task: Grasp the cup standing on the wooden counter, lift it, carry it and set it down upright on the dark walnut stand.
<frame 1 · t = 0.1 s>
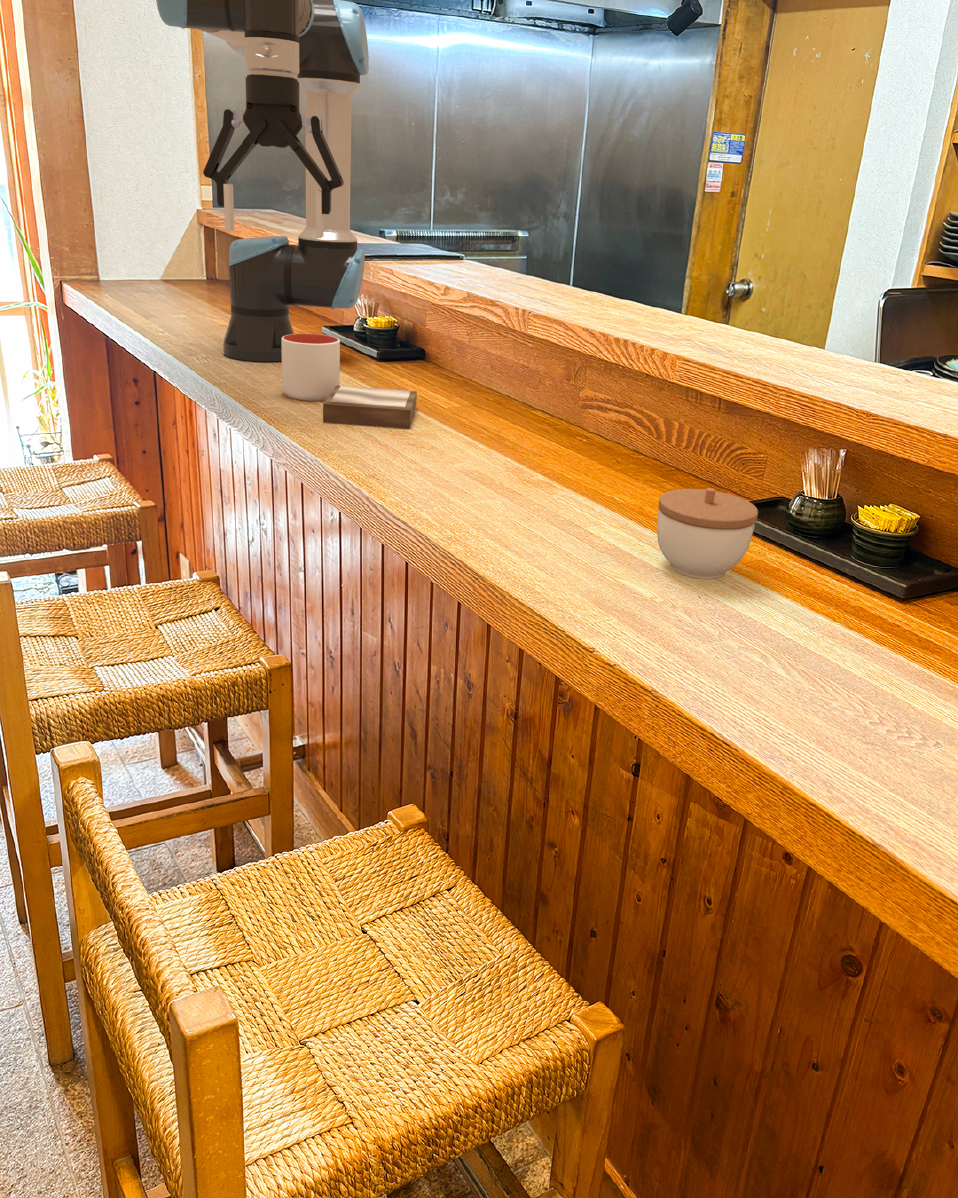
hand: (274, 234, 147), 28 cm above the countertop, fingers open, 13 cm apart
stand: (371, 415, 164), on the countertop
cup: (310, 397, 174), on the countertop
lidded jar: (697, 570, 110), on the countertop
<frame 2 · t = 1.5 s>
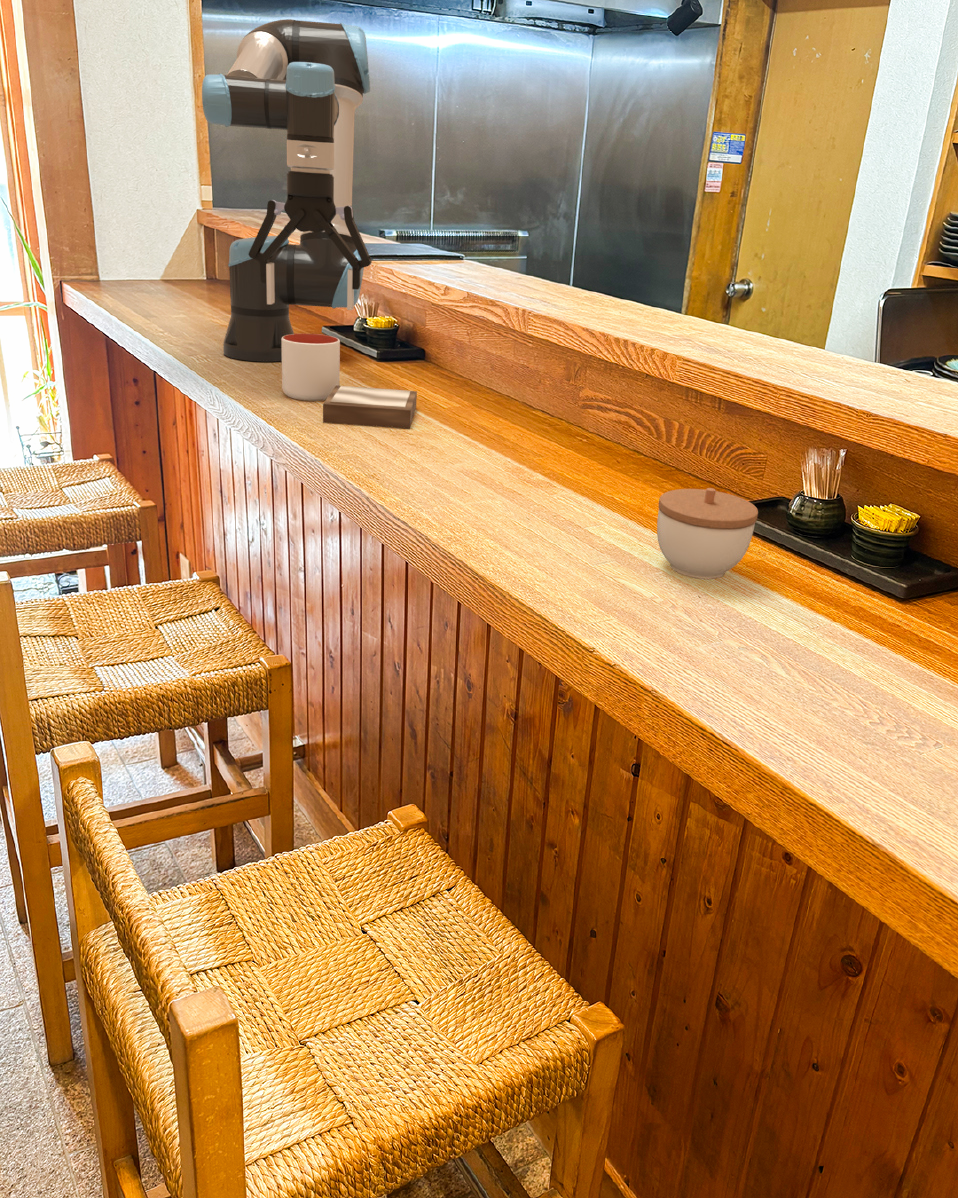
hand: (310, 306, 167), 15 cm above the countertop, fingers open, 13 cm apart
nothing on the countertop moved.
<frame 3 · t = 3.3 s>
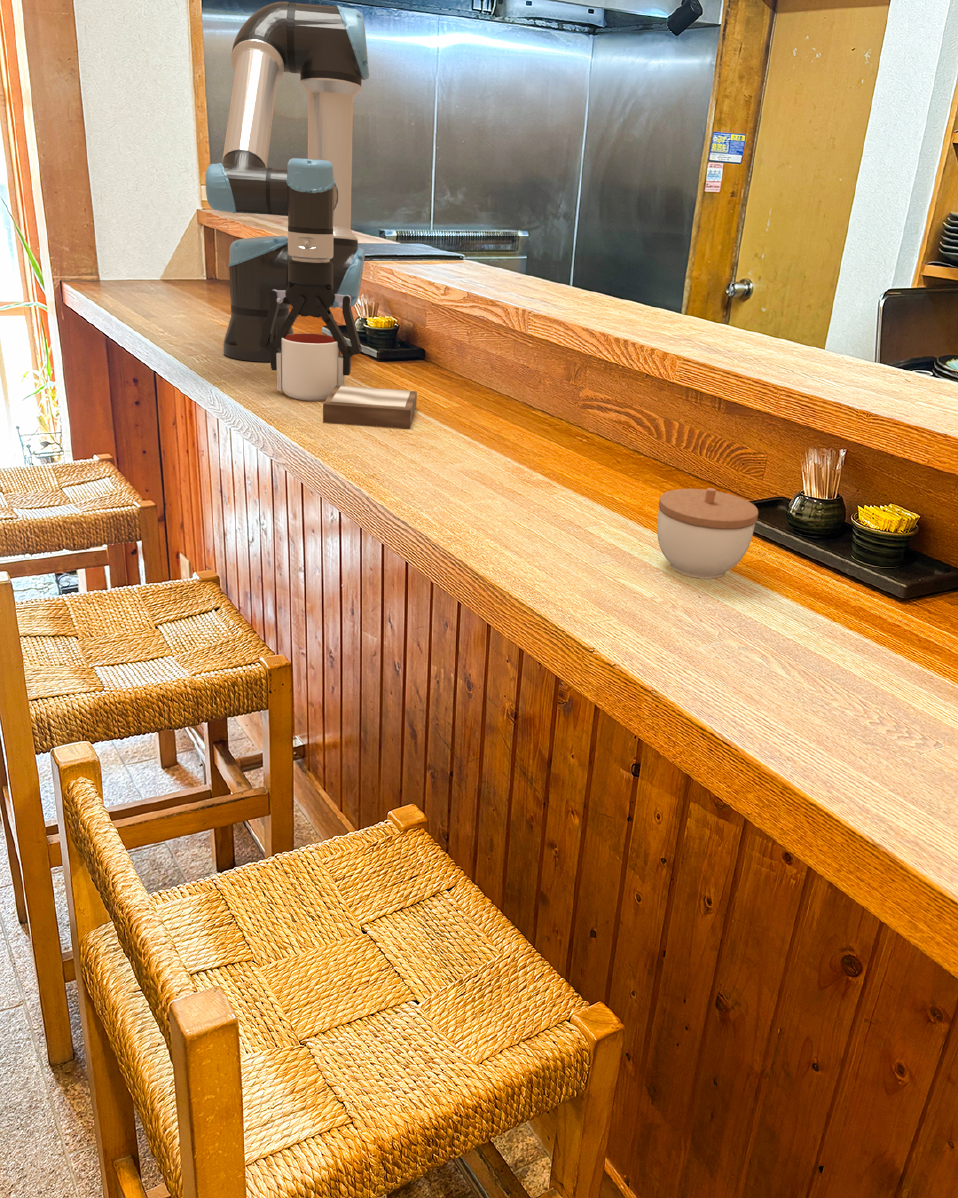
hand: (310, 391, 173), 1 cm above the countertop, fingers closed on cup, 10 cm apart
cup: (310, 396, 174), on the countertop, touching gripper
everything else where it was.
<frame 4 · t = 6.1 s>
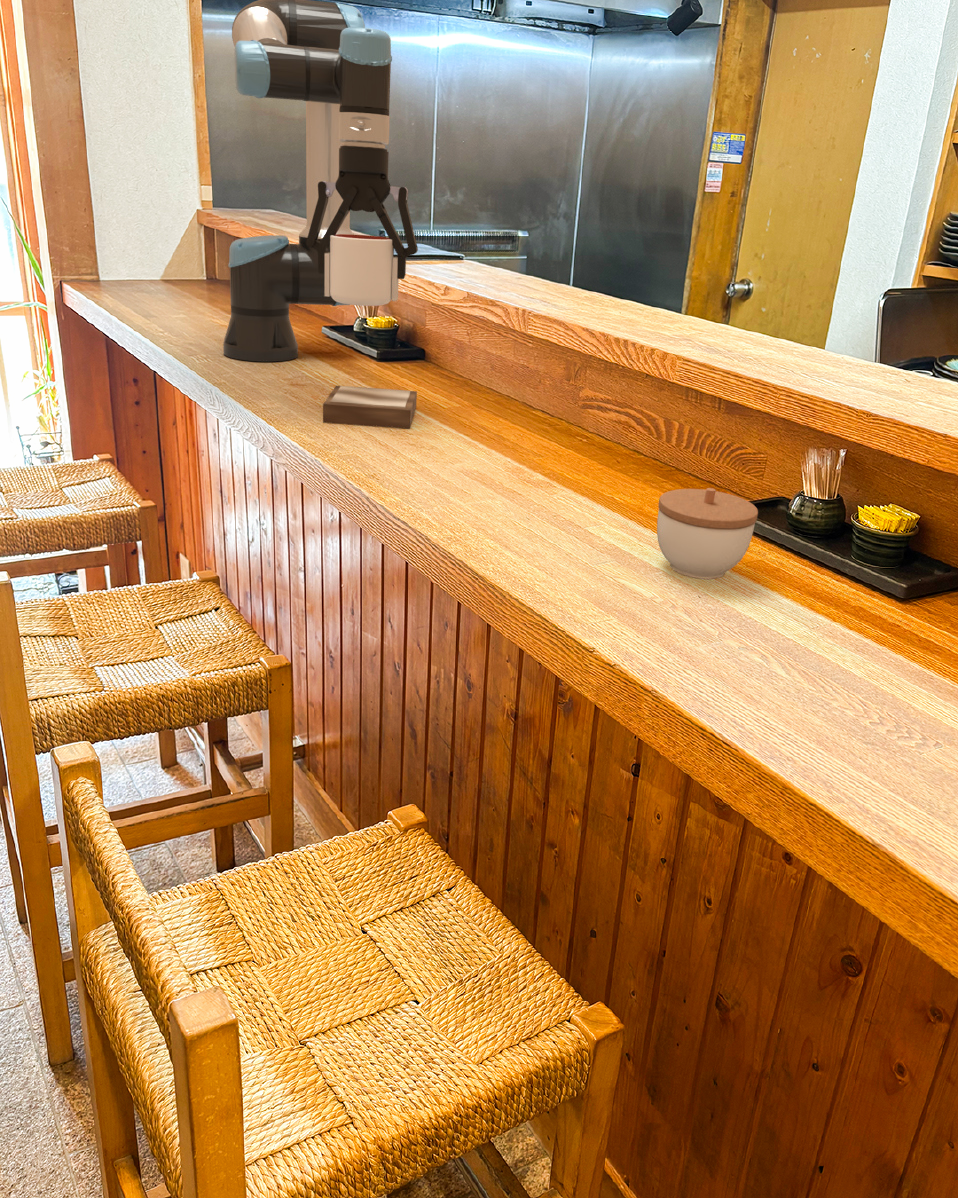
hand: (361, 297, 157), 19 cm above the countertop, fingers closed on cup, 10 cm apart
cup: (361, 303, 158), point 18 cm above the countertop, touching gripper
everything else where it was.
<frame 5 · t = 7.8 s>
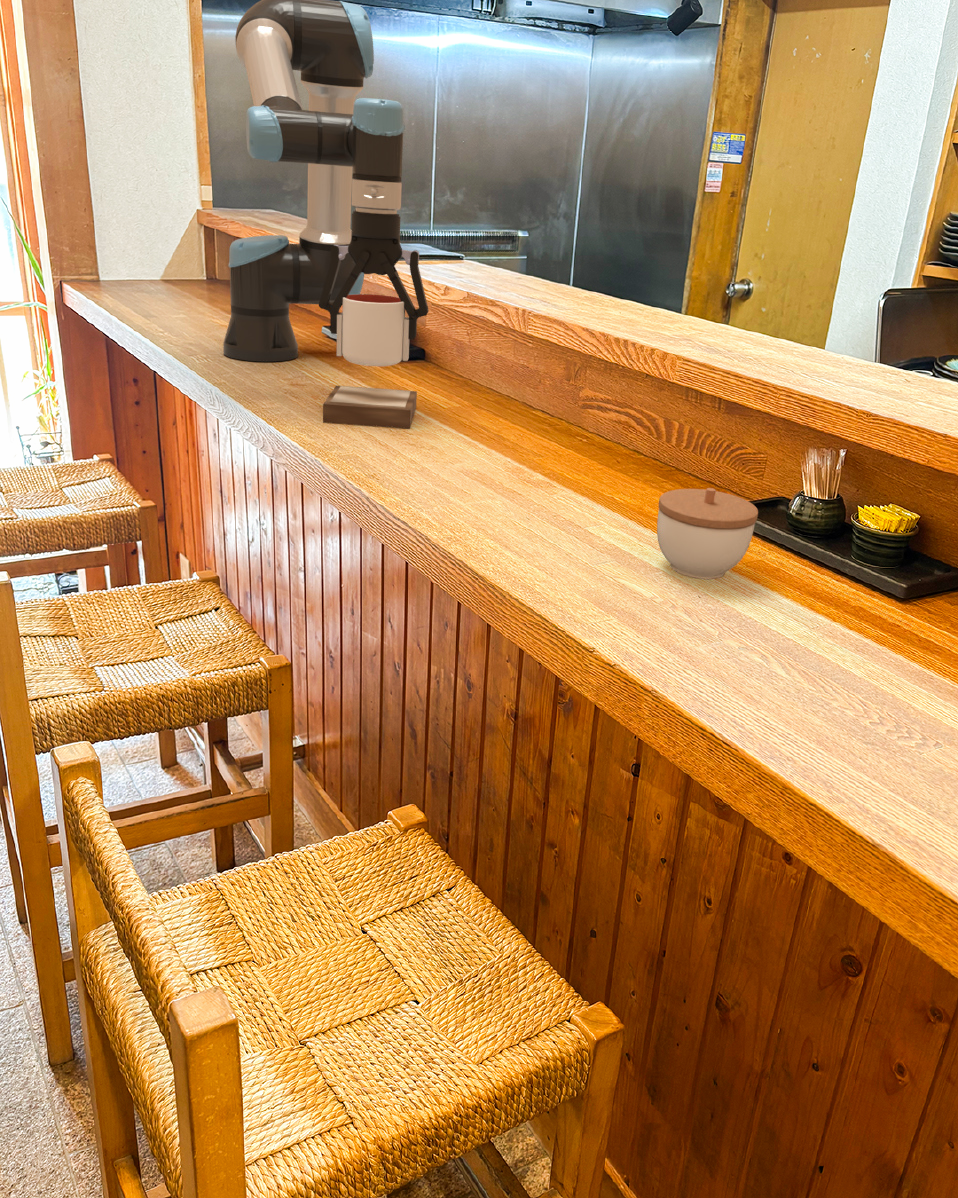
hand: (372, 356, 160), 10 cm above the countertop, fingers closed on cup, 10 cm apart
cup: (372, 362, 160), point 9 cm above the countertop, touching gripper
everything else where it was.
when the fingers open (6 cm above the countertop, at t = 9.1 s): cup drops 2 cm, resting on stand.
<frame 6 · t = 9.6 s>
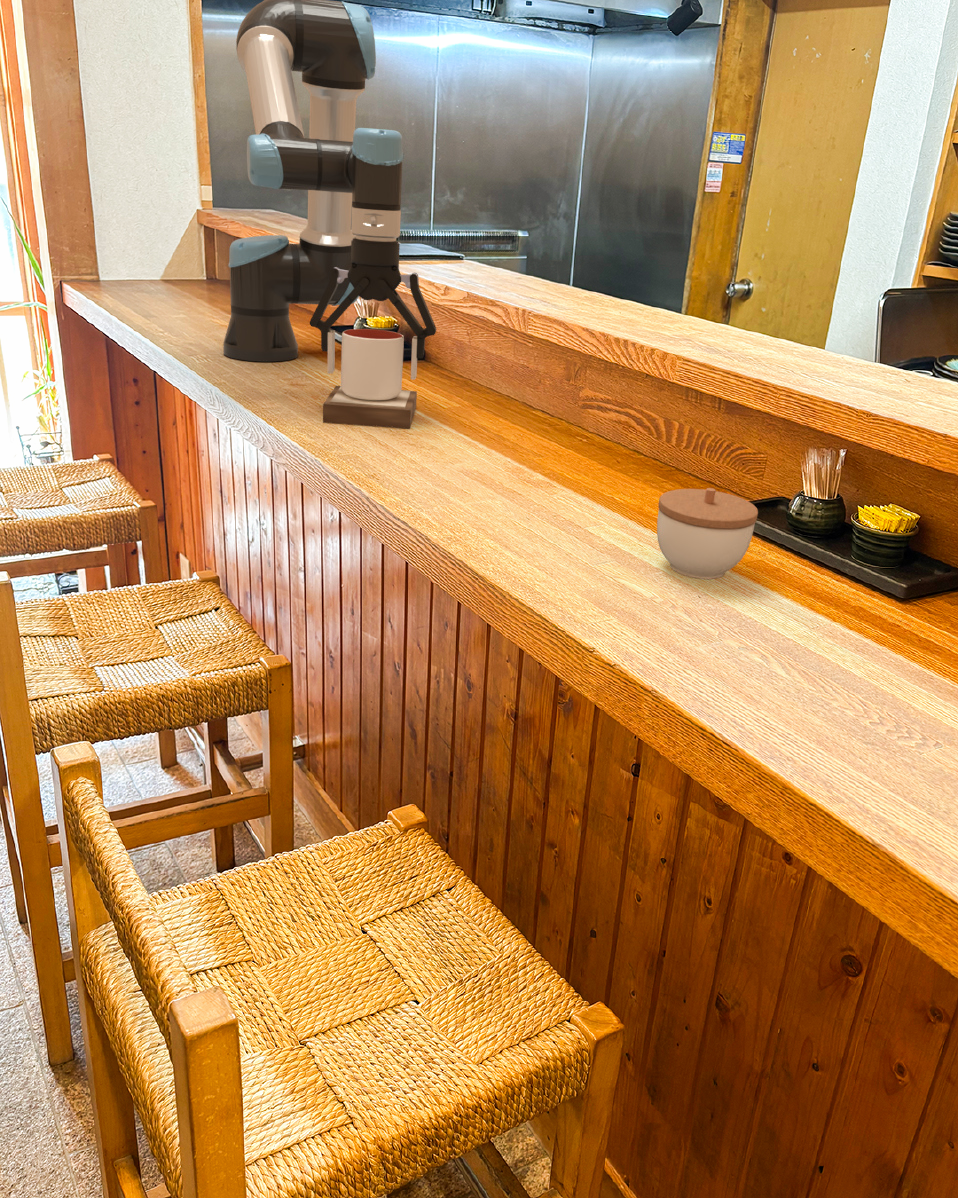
hand: (372, 375, 161), 7 cm above the countertop, fingers open, 13 cm apart
cup: (370, 396, 163), point 3 cm above the countertop, touching stand
everything else where it was.
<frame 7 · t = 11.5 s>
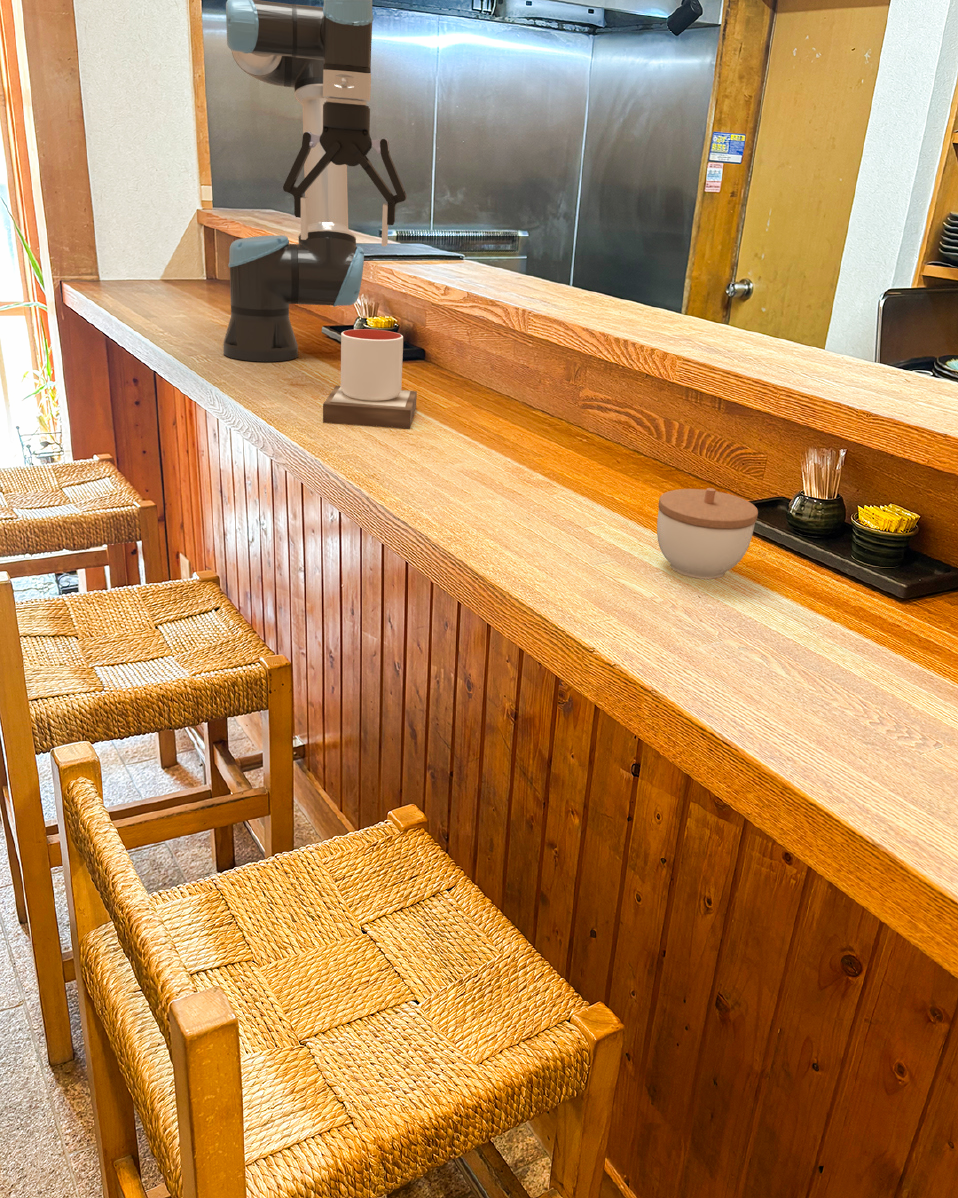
hand: (344, 242, 166), 26 cm above the countertop, fingers open, 13 cm apart
nothing on the countertop moved.
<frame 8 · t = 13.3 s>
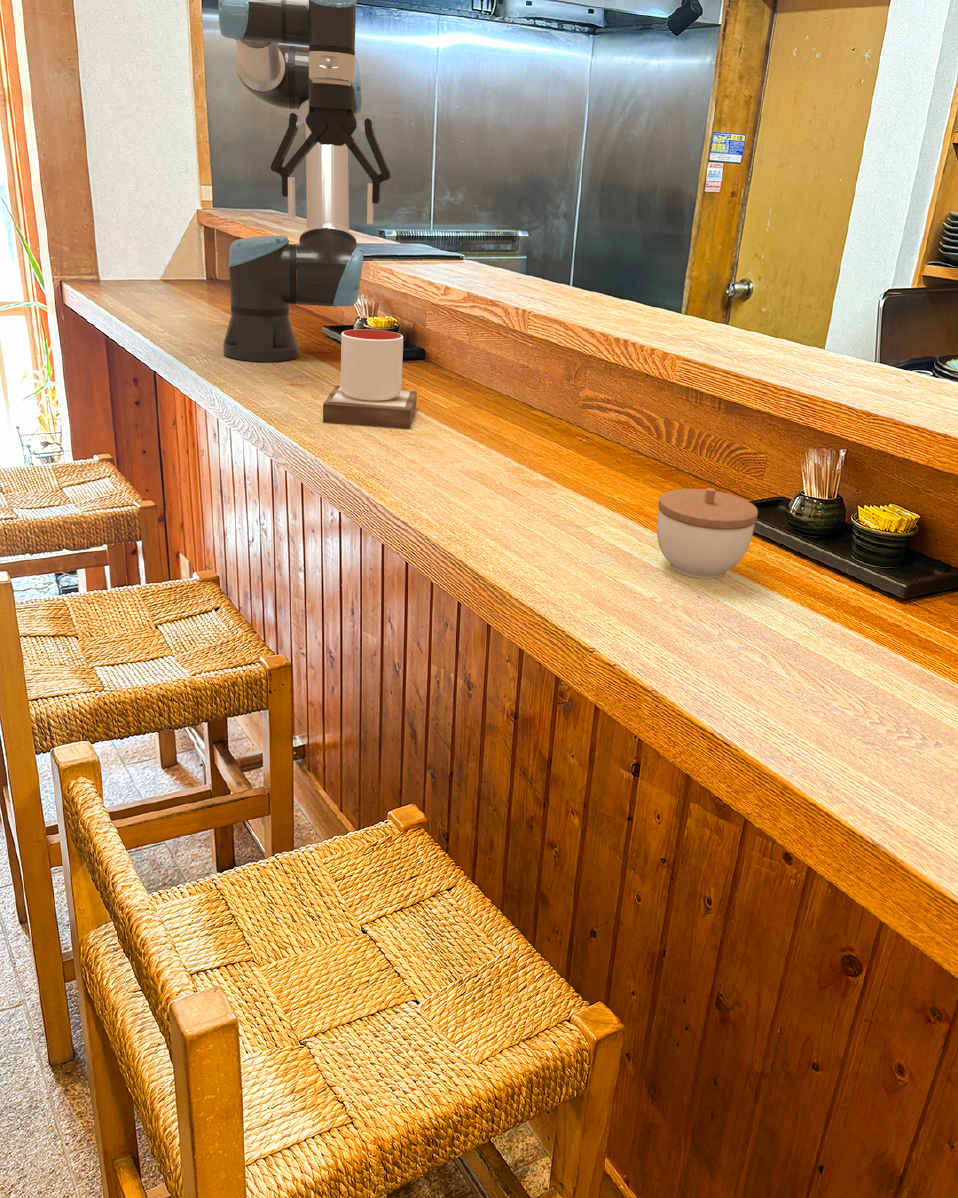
hand: (330, 220, 170), 29 cm above the countertop, fingers open, 13 cm apart
nothing on the countertop moved.
at the end: cup 0.2 cm from the stand (horizontally); cup touching stand; cup tilted 0° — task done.
